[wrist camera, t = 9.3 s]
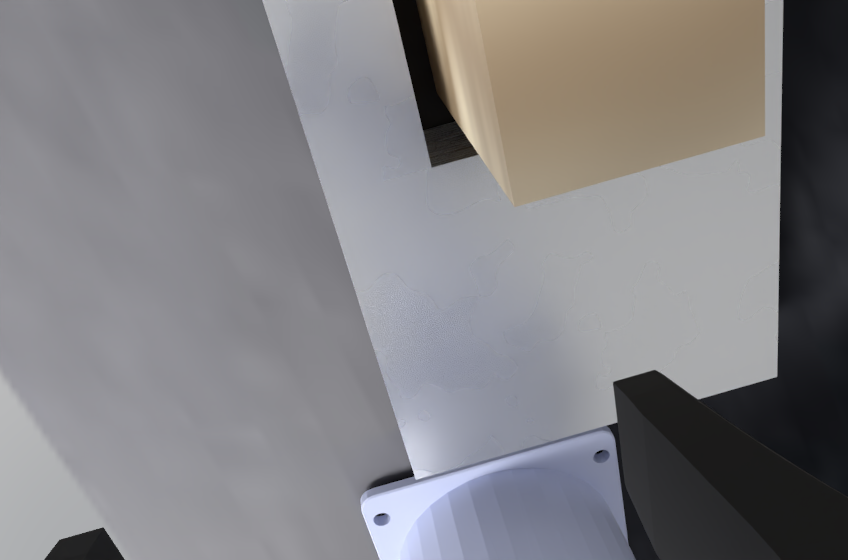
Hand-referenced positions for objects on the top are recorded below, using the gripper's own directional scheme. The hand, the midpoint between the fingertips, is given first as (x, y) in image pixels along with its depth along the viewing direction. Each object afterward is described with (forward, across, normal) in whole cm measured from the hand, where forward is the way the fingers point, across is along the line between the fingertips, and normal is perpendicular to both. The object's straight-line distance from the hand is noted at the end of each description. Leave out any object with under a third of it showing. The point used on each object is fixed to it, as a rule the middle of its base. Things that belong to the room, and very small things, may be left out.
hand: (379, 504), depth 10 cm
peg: (+10, -5, -4) cm, 12 cm away
